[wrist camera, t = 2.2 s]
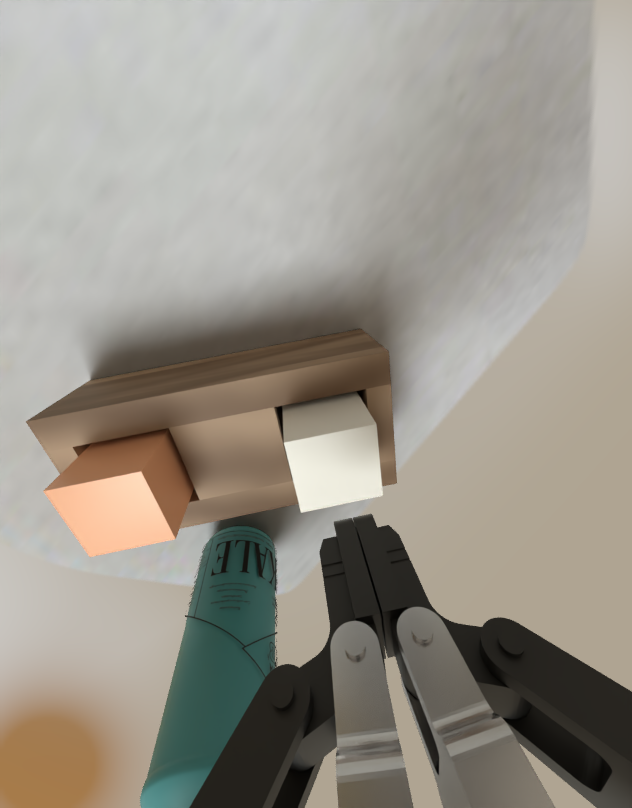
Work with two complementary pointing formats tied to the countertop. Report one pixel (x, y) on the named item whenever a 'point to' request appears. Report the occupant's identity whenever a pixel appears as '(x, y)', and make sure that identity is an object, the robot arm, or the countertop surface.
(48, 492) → the terracotta plug
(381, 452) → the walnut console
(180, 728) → the beverage bottle
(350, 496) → the white plug
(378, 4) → the countertop surface
